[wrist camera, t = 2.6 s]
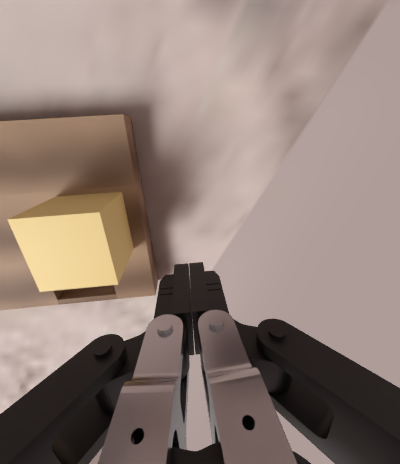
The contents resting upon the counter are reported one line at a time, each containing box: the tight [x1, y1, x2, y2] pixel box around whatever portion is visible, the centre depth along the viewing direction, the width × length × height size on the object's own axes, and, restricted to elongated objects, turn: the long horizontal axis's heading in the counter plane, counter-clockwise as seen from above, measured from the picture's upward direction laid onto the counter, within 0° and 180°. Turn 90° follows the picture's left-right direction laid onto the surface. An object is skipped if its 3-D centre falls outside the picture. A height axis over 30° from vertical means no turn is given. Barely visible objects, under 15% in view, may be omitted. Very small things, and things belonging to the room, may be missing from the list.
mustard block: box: [7, 192, 134, 292], centre depth 17 cm, size 6×6×6 cm
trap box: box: [0, 114, 158, 310], centre depth 19 cm, size 17×25×4 cm
